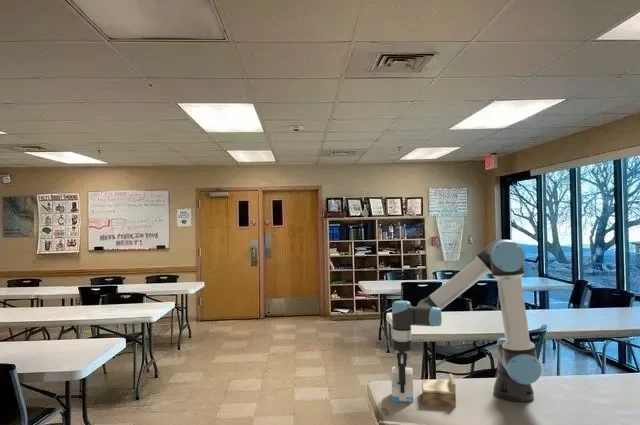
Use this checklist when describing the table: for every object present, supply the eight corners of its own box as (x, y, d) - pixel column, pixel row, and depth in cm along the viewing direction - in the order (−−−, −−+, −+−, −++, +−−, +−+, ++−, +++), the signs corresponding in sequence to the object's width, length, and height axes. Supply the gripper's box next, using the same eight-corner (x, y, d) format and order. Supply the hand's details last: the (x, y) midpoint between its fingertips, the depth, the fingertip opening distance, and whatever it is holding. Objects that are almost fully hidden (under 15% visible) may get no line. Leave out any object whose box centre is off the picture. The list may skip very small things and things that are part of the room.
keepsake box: (452, 397, 174) (452, 383, 174) (455, 409, 162) (455, 395, 162) (422, 395, 176) (422, 381, 176) (423, 407, 164) (423, 392, 164)
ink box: (413, 404, 167) (412, 370, 167) (391, 403, 168) (391, 368, 169) (413, 396, 175) (412, 363, 176) (392, 394, 177) (392, 362, 177)
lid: (452, 383, 174) (452, 373, 174) (455, 394, 162) (455, 384, 162) (422, 381, 176) (422, 371, 176) (423, 392, 164) (423, 382, 165)
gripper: (393, 332, 184) (393, 385, 183) (391, 346, 163) (392, 406, 162) (410, 333, 182) (411, 386, 181) (411, 347, 161) (412, 407, 161)
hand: (402, 395), depth 172 cm, fingers closed on ink box, 8 cm apart
